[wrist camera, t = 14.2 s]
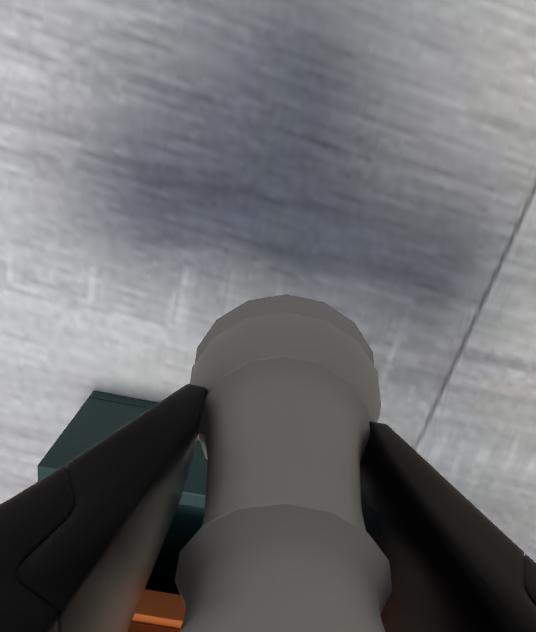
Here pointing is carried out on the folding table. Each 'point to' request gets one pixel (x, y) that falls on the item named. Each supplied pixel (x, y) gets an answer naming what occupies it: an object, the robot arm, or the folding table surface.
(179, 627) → the bin lid
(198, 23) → the folding table surface
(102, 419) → the bin
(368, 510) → the robot arm
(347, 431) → the rook chess piece
